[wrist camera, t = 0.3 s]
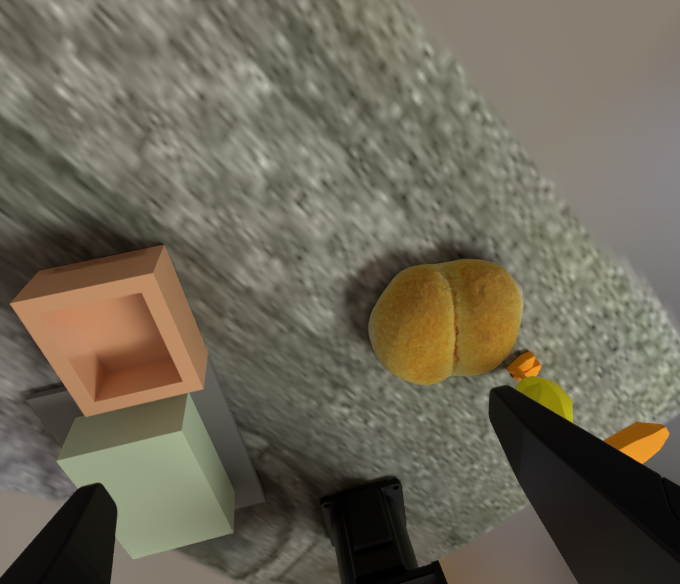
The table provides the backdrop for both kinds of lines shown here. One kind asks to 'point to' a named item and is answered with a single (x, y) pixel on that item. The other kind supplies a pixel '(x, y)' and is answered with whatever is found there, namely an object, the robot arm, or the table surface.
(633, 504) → the robot arm
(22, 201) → the table surface
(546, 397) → the toy figure
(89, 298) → the dish
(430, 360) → the bread roll
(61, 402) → the mat
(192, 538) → the lid
